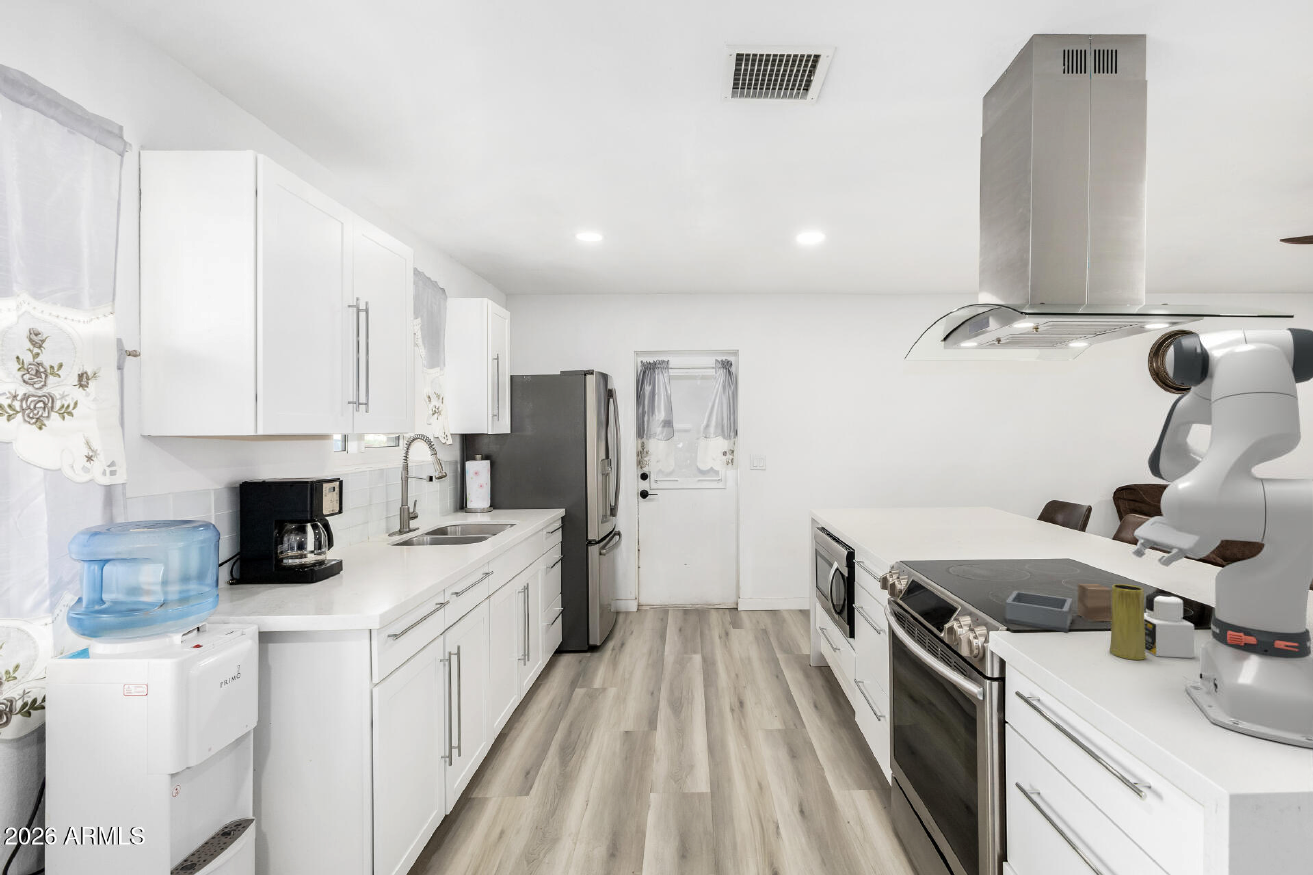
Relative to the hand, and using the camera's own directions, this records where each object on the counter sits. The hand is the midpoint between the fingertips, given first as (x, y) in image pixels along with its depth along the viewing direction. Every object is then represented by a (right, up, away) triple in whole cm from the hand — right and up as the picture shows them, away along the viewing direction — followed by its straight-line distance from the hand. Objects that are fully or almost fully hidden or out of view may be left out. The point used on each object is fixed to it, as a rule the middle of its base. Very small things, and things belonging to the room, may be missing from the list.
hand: (1148, 559), depth 149 cm
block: (-12, -15, +2) cm, 19 cm away
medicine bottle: (-13, -16, -20) cm, 29 cm away
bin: (-27, -15, +1) cm, 31 cm away
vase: (-22, -16, -22) cm, 35 cm away
